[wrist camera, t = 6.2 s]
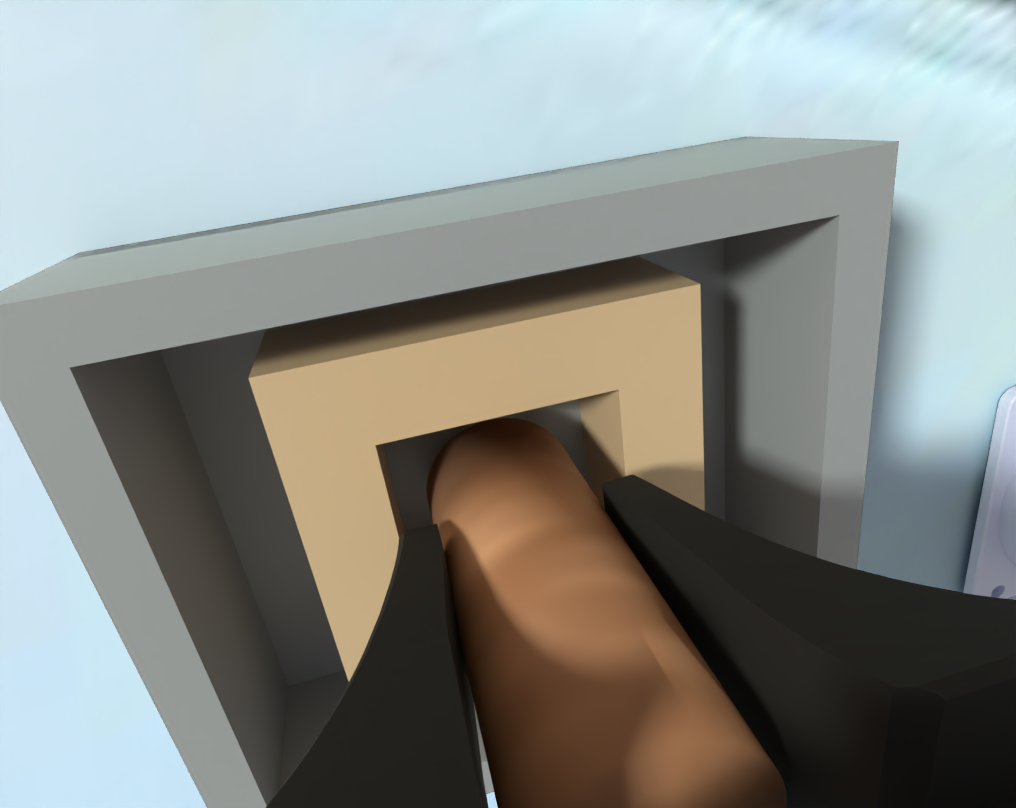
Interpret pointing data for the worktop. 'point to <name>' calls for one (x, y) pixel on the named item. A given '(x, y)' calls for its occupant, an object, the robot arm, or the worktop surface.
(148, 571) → the tray
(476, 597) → the peg
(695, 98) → the worktop surface
